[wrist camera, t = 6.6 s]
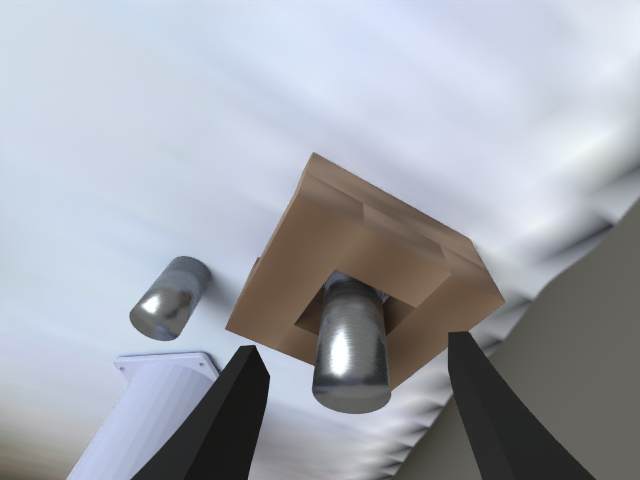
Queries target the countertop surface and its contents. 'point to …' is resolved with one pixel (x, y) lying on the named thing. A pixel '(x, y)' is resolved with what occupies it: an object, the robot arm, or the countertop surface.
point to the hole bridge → (363, 271)
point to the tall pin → (351, 348)
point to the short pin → (171, 299)
